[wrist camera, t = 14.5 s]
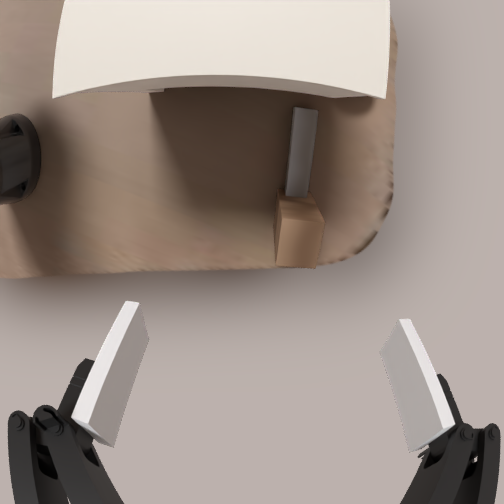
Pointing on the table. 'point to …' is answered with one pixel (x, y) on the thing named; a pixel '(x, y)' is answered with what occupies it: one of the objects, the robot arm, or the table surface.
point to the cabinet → (224, 46)
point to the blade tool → (298, 199)
